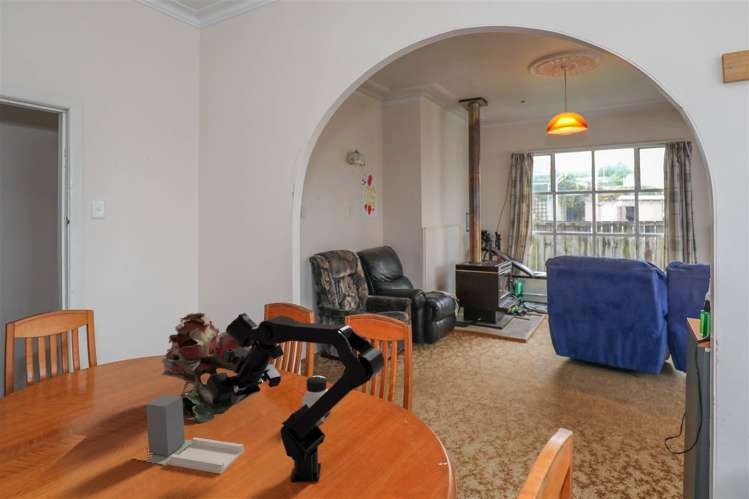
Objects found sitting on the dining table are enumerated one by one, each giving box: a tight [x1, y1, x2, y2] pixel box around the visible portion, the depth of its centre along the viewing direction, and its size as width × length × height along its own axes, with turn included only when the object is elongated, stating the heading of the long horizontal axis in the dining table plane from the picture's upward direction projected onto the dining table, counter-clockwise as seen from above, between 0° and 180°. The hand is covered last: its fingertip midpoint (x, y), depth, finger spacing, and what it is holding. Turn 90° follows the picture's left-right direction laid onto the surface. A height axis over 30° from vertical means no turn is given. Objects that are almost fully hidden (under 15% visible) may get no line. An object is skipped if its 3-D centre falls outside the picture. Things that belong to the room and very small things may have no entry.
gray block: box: [145, 394, 186, 456], centre depth 111 cm, size 6×6×13 cm
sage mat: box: [135, 439, 192, 466], centre depth 112 cm, size 10×11×1 cm
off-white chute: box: [168, 436, 245, 475], centre depth 108 cm, size 15×10×2 cm, turn 74°
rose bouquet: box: [160, 312, 251, 424], centre depth 140 cm, size 26×29×30 cm
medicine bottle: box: [301, 375, 333, 423], centre depth 129 cm, size 7×7×12 cm
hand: (233, 403), depth 109 cm, fingers closed
